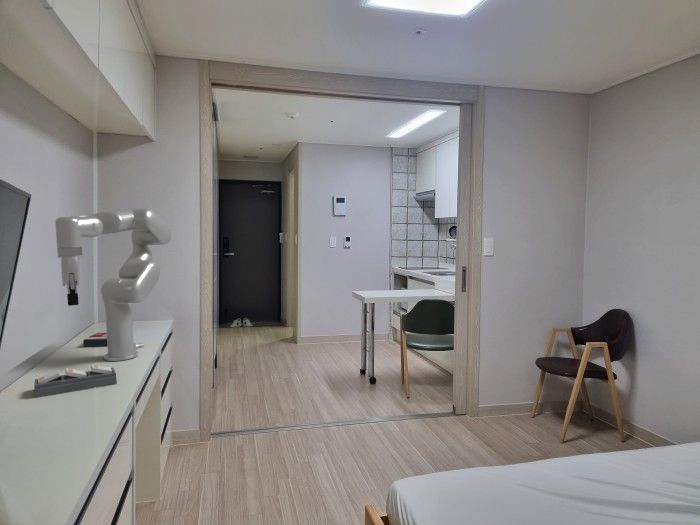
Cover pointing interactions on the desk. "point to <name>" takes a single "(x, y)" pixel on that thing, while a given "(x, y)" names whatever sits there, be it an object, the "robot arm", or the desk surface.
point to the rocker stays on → (49, 377)
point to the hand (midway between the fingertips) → (73, 304)
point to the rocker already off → (101, 369)
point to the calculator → (96, 340)
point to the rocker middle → (75, 373)
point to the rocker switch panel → (74, 383)
